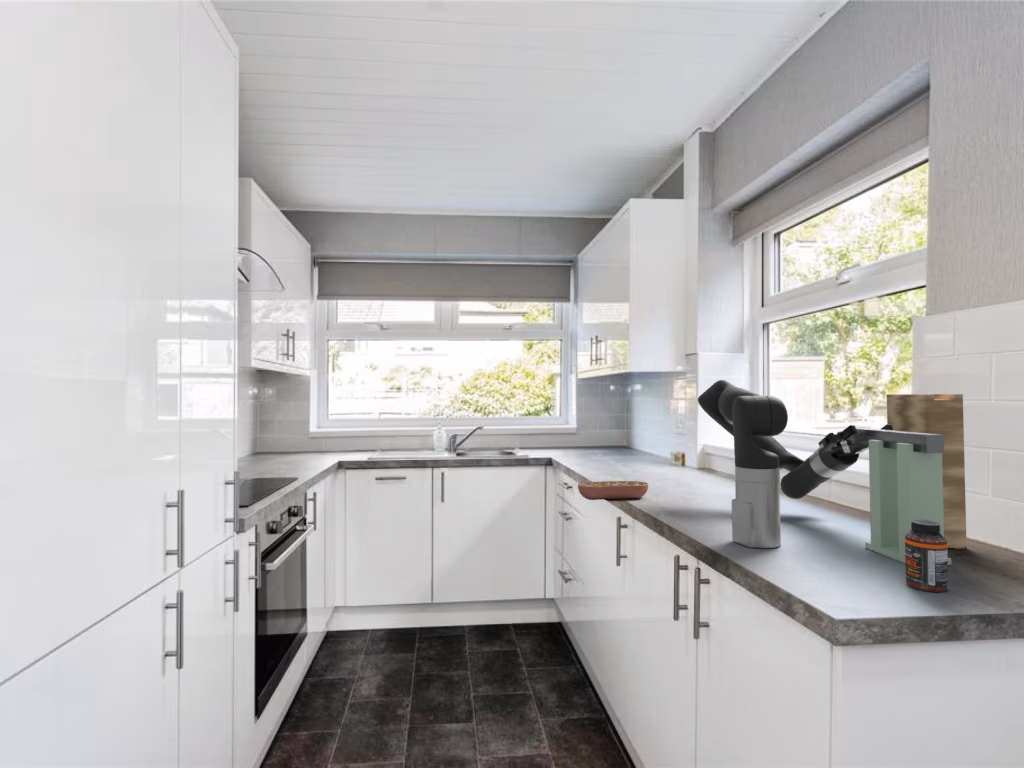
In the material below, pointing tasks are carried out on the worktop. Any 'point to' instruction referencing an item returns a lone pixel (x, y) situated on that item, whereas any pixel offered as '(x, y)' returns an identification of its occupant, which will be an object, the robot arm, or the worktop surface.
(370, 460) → the worktop surface
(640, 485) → the bread loaf
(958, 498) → the wooden block
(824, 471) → the robot arm
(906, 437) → the rail
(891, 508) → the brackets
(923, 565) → the supplement bottle
